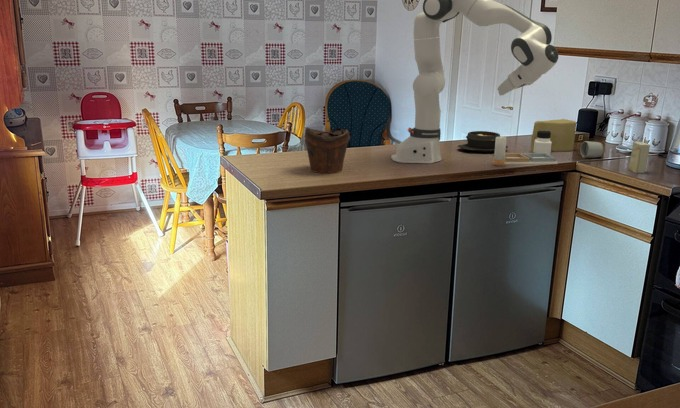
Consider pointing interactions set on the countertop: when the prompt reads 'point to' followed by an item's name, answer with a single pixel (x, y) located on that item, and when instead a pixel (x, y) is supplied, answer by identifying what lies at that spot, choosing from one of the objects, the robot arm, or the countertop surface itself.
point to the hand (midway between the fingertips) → (507, 89)
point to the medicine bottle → (543, 142)
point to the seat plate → (529, 158)
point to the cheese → (557, 133)
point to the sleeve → (500, 151)
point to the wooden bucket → (326, 149)
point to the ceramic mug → (591, 149)
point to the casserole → (480, 141)
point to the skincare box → (639, 157)
